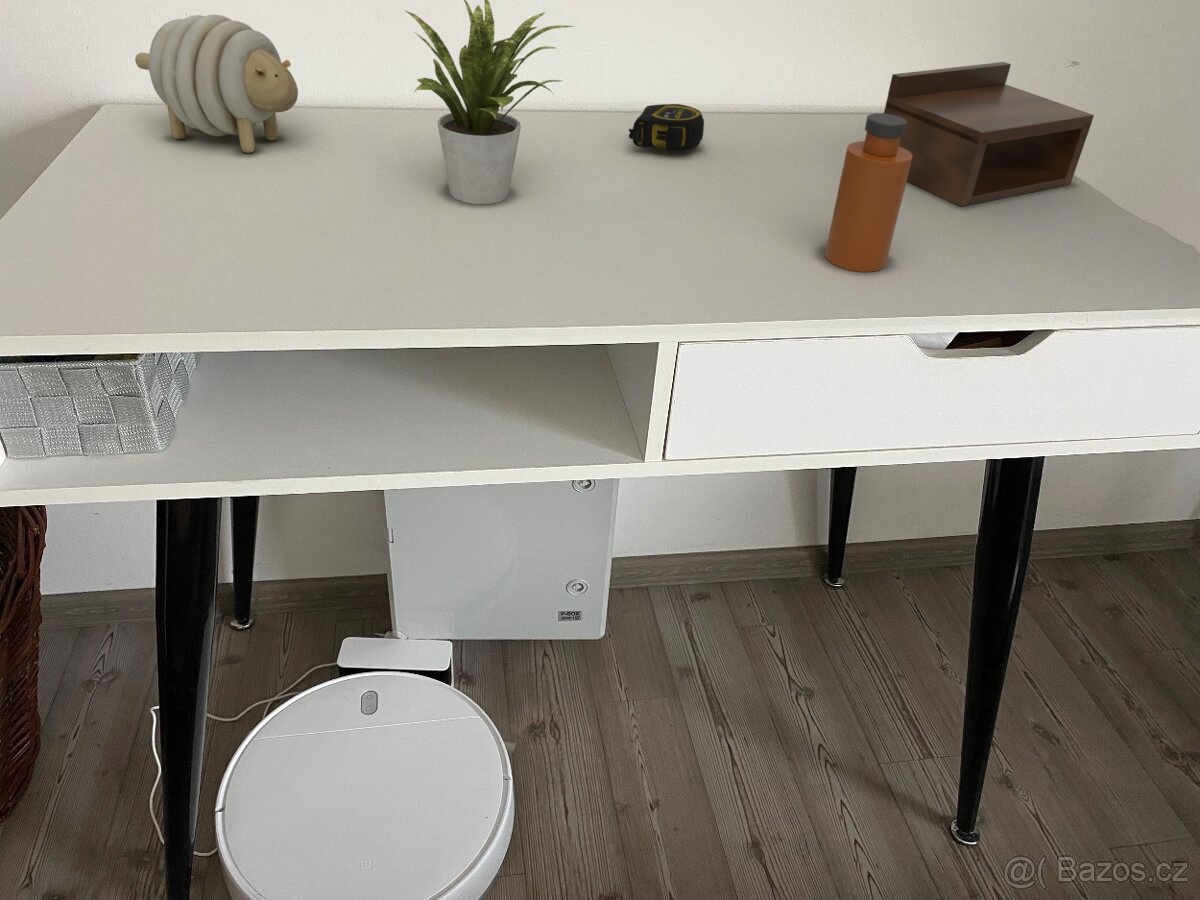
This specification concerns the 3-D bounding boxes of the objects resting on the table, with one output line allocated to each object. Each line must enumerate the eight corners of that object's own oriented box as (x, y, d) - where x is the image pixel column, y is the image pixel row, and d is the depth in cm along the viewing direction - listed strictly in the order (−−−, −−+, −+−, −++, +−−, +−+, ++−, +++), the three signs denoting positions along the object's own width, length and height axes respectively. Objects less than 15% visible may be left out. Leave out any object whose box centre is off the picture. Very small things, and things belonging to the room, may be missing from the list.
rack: (1070, 184, 102) (1101, 94, 97) (960, 206, 95) (988, 110, 90) (979, 147, 111) (1003, 61, 105) (871, 164, 103) (892, 74, 98)
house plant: (600, 215, 87) (614, 14, 78) (452, 240, 81) (448, 24, 72) (523, 161, 97) (528, -23, 88) (386, 179, 91) (376, -17, 82)
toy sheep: (274, 168, 91) (258, 39, 85) (109, 141, 94) (82, 14, 88) (329, 134, 100) (319, 15, 93) (176, 110, 103) (156, -8, 96)
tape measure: (643, 133, 107) (646, 97, 105) (707, 143, 105) (711, 106, 103) (626, 152, 101) (629, 115, 99) (693, 163, 100) (698, 125, 98)
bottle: (898, 265, 83) (934, 125, 76) (853, 276, 81) (886, 132, 74) (856, 242, 86) (887, 106, 80) (812, 252, 84) (840, 112, 77)
